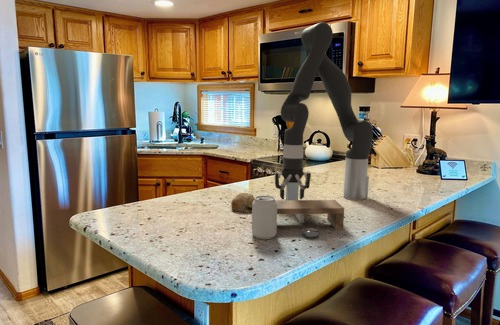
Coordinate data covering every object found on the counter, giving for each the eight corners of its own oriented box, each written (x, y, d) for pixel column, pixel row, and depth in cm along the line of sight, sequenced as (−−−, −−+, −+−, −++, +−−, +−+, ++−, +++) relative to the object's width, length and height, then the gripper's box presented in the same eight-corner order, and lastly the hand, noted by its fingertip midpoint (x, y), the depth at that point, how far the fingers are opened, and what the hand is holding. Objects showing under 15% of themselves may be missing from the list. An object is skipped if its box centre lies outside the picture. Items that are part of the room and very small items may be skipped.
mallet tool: (295, 205, 145) (296, 180, 143) (307, 222, 124) (308, 193, 123) (285, 205, 145) (286, 180, 143) (296, 222, 124) (297, 193, 122)
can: (250, 231, 114) (251, 194, 113) (274, 231, 115) (275, 194, 113) (252, 240, 107) (253, 200, 105) (278, 240, 108) (279, 200, 106)
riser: (333, 219, 128) (334, 200, 127) (343, 229, 118) (344, 208, 117) (265, 220, 126) (265, 200, 125) (268, 230, 116) (269, 208, 115)
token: (316, 233, 114) (317, 228, 114) (320, 239, 109) (320, 233, 109) (300, 233, 114) (301, 228, 114) (303, 239, 109) (304, 233, 109)
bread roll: (235, 222, 135) (240, 205, 131) (225, 204, 143) (229, 187, 139) (259, 218, 140) (264, 202, 136) (248, 201, 147) (252, 185, 143)
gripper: (309, 154, 144) (307, 196, 146) (273, 154, 143) (272, 196, 145) (314, 157, 136) (312, 201, 139) (275, 157, 135) (274, 201, 138)
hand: (291, 198), depth 142 cm, fingers open, 6 cm apart
